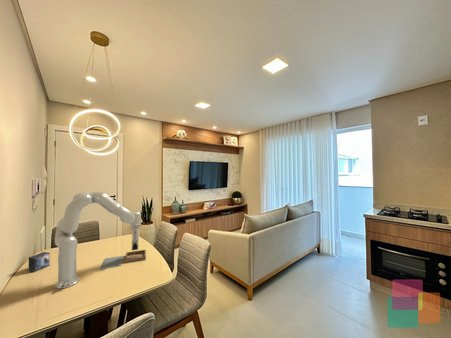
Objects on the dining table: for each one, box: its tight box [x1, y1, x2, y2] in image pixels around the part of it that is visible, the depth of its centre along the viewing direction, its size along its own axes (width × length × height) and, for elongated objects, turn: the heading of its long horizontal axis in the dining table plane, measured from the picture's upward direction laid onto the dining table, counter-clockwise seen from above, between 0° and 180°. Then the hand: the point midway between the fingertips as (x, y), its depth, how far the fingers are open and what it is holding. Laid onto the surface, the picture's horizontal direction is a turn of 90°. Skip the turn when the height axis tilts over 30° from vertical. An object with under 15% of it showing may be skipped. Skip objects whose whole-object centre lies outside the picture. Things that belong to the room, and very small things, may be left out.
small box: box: [27, 251, 51, 273], centre depth 150 cm, size 11×6×10 cm, turn 168°
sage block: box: [131, 240, 140, 251], centre depth 166 cm, size 5×5×7 cm
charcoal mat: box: [99, 255, 125, 271], centre depth 159 cm, size 20×14×1 cm
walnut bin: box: [123, 249, 147, 264], centre depth 167 cm, size 16×16×3 cm
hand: (135, 247), depth 166 cm, fingers closed on sage block, 5 cm apart
